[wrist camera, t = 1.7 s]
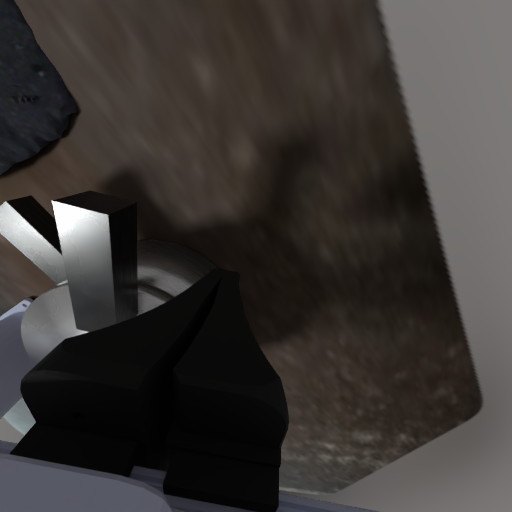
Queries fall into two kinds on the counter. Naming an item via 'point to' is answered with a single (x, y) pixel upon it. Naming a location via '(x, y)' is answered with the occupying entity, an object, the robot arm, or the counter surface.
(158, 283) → the pot
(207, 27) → the counter surface
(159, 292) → the lid
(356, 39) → the counter surface
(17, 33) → the dark slate chunk
